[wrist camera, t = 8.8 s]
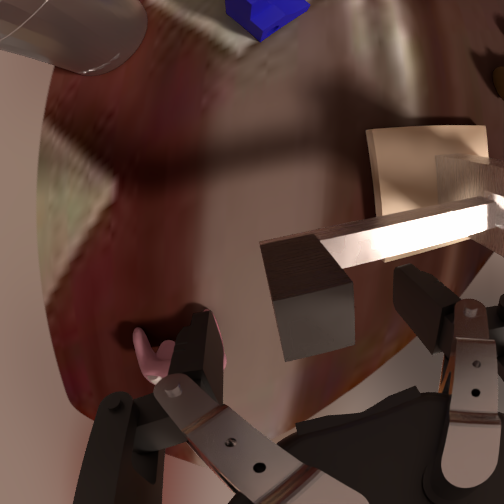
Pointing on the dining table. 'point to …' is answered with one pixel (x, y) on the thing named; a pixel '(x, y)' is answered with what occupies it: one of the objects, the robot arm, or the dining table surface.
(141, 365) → the video game controller
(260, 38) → the cable clip
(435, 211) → the shaft
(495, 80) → the kendama
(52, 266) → the dining table surface
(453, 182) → the stand
